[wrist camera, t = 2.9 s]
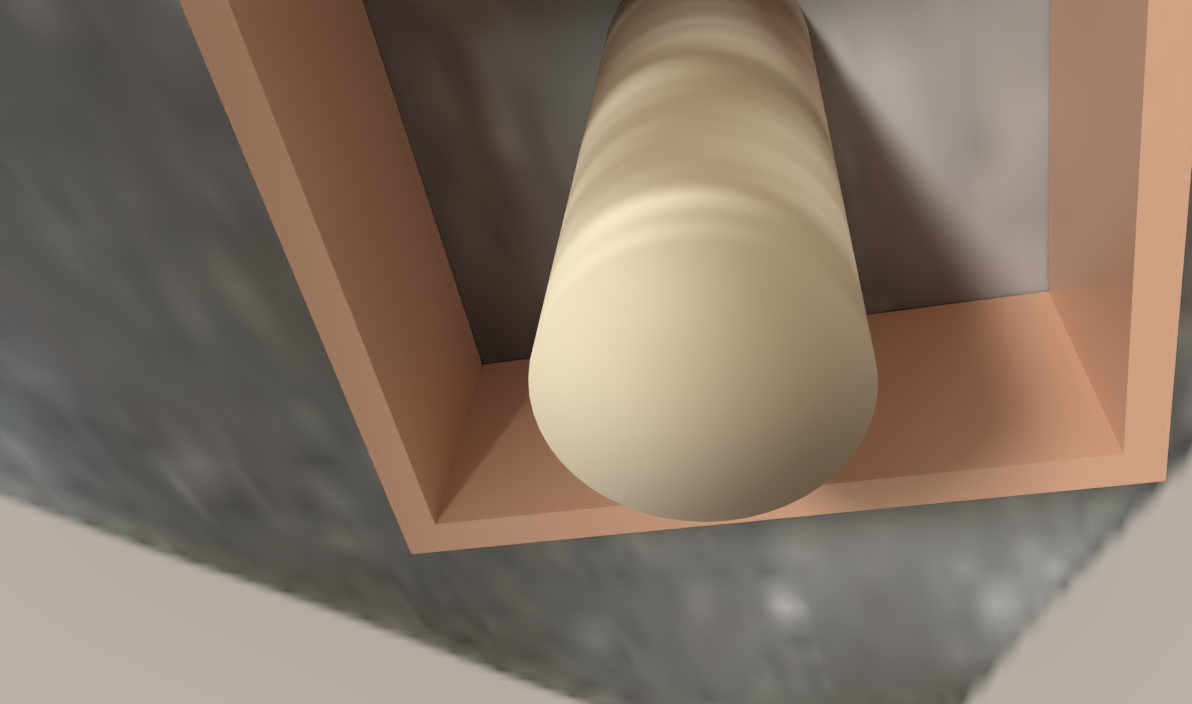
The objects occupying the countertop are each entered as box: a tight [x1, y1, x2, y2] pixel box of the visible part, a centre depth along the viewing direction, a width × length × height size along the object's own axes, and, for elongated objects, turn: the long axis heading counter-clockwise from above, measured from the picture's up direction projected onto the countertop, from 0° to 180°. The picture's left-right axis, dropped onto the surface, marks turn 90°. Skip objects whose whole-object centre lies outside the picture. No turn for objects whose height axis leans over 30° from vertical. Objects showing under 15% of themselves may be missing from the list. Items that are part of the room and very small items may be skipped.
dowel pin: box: [528, 0, 878, 522], centre depth 19 cm, size 4×4×12 cm
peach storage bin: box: [179, 0, 1192, 554], centre depth 22 cm, size 16×16×6 cm
